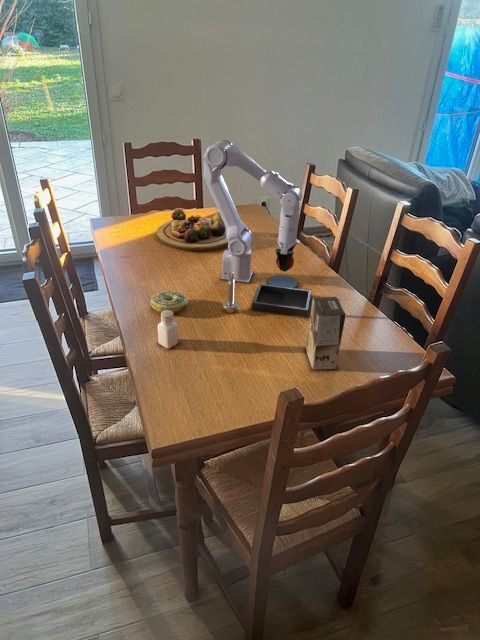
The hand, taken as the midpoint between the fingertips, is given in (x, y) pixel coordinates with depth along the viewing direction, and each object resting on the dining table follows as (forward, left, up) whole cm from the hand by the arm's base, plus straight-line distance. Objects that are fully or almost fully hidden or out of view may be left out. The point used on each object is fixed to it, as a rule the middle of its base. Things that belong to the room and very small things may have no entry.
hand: (284, 266), depth 153 cm
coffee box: (+15, -39, -7) cm, 42 cm away
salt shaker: (-25, -43, -7) cm, 50 cm away
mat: (0, 0, -6) cm, 6 cm away
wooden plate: (-39, +31, -7) cm, 50 cm away
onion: (0, 0, -2) cm, 2 cm away
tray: (+1, -13, -6) cm, 15 cm away
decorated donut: (-31, -25, -7) cm, 40 cm away
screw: (-13, -22, -7) cm, 26 cm away
